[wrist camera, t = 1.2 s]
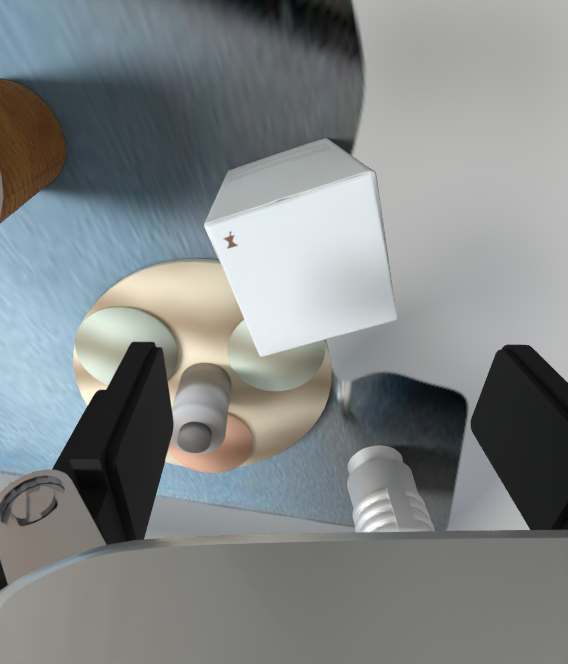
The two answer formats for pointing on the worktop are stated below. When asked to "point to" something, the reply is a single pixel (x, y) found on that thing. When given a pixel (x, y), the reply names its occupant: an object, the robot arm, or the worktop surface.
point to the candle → (385, 493)
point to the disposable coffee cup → (26, 146)
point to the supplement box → (303, 246)
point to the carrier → (205, 365)
